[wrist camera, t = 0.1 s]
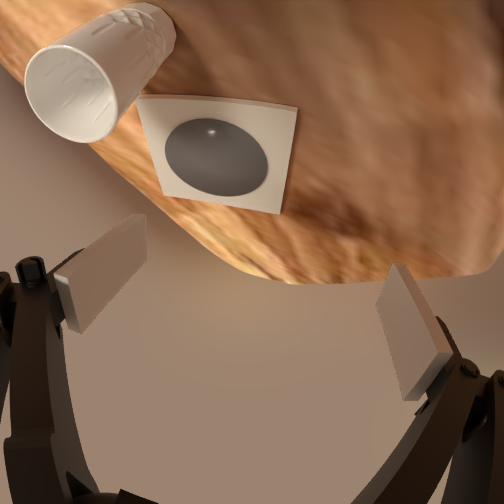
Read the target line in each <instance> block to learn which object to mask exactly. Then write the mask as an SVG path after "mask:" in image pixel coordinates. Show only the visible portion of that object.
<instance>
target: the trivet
mask: <svg viewBox="0 0 504 504" xmlns="http://www.w3.org/2000/svg"><path fill="white" fill-rule="evenodd" d="M135 101H136V105H137V108H138V112H139V115H140V119H141V123H142V126H143V130H144V133H145V136H146V140H147V143H148V147H149V150H150V153H151V156H152V160H153V163H154V166H155V169H156V172H157V176H158V179H159V182H160V185H161V188H162V191H163V194H164V195H166V196H173V197H179V198H186V199H192V200H198V201H204V202H210V203H216V204H222V205H228V206H234V207H240V208H245V209H251V210H256V211H262V212H267V213H272V214H278V215H280V210H281V204H282V199H283V193H284V187H285V182H286V176H287V170H288V165H289V159H290V153H291V147H292V141H293V135H294V129H295V123H296V117H297V111H298V107H292V106H287V105H281V104H274V103H268V102H260V101H253V100H244V99H235V98H225V97H213V96H197V95H170V94H141V95H138V96H137V98H136V99H135Z"/></svg>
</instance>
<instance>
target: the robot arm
mask: <svg viewBox="0 0 504 504" xmlns="http://www.w3.org/2000/svg"><path fill="white" fill-rule="evenodd" d="M146 244H147V243H146V215H142V214H135V213H134V214H132V215H131V216H129V217H128V218H126V219H125V220H124V221H122V222H121V223H119V224H118V225H116V226H115V227H114V228H112V229H111V230H109V231H108V232H107V233H105V234H104V235H102V236H101V237H100V238H98V239H97V240H96V241H94V242H93V243H92V244H90V245H89V246H88V247H86V248H84V249H81V250H79V251H76V252H74V253H73V254H72V255H70V256H69V257H68V259H65V260H64V261H62V263H60V264H59V265H57V266H56V267H55V268H54V269H52V270H51V271H50V272H49V273H47V274H46V270H45V266H44V261H43V259H42V258H41V257H37V256H32V257H27V258H25V259H22V260H21V261H20V262H18V263H17V265H16V266H15V268H16V272H17V275H18V279H19V282H20V283H12V281H11V278H10V275H9V273H7V272H0V422H1V415H2V411H3V406H4V401H5V396H6V392H7V388H8V384H9V380H10V418H11V437H9V438H6V439H5V441H4V447H3V448H4V457H5V465H6V471H7V477H8V483H9V488H10V493H11V497H12V502H13V504H158V503H156V502H153V501H150V500H148V499H145V498H142V497H139V496H137V495H134V494H132V493H129V492H127V491H124V490H122V489H120V491H119V494H115V493H100V492H99V489H98V487H97V485H96V483H95V481H94V479H93V477H92V475H91V474H90V472H89V470H88V467H87V464H86V461H85V458H84V454H83V451H82V447H81V443H80V439H79V436H78V431H77V428H76V423H75V418H74V413H73V408H72V403H71V398H70V392H69V386H68V379H67V373H66V364H65V356H64V345H63V333H62V327H61V324H60V323H61V322H62V321H63V320H64V319H66V322H67V325H68V329H70V330H73V331H75V332H78V333H80V334H82V333H83V332H84V331H85V330H86V329H87V327H88V326H89V325H90V324H91V323H92V322H93V320H94V319H95V318H96V317H97V315H98V314H99V313H100V312H101V311H102V310H103V309H104V307H105V306H106V305H107V304H108V303H109V302H110V301H111V300H112V298H113V297H114V296H115V295H116V294H117V293H118V292H119V291H120V289H121V288H122V287H123V286H124V285H125V284H126V283H127V282H128V281H129V279H130V278H131V277H132V276H133V275H134V274H135V273H136V272H137V271H138V270H139V269H140V268H141V267H142V265H143V264H144V263H145V262H146V261H147V245H146ZM376 307H377V310H378V313H379V316H380V319H381V323H382V326H383V329H384V332H385V336H386V339H387V342H388V346H389V349H390V353H391V356H392V360H393V363H394V367H395V370H396V374H397V378H398V382H399V386H400V390H401V395H402V399H403V401H418V400H419V399H420V398H421V396H422V395H423V394H424V393H425V392H426V394H427V397H428V399H427V400H426V401H425V403H424V404H423V405H422V406H421V407H420V408H419V409H418V411H417V412H416V413H415V415H417V416H416V417H415V419H414V421H413V422H412V424H411V425H410V427H409V428H408V430H407V432H406V433H405V435H404V436H403V438H402V439H401V441H400V442H399V444H398V445H397V447H396V448H395V449H394V451H393V452H392V454H391V455H390V456H389V458H388V459H387V460H386V462H385V463H384V464H383V466H382V467H381V468H380V470H379V471H378V472H377V473H376V475H375V476H374V477H373V478H372V480H371V481H370V482H369V483H368V485H367V486H366V487H365V488H364V489H363V490H362V491H361V493H360V494H359V495H358V496H357V497H356V498H355V499H354V501H353V502H352V503H351V504H427V503H428V501H429V499H430V498H431V496H432V494H433V492H434V491H435V489H436V487H437V485H438V483H439V481H440V480H441V478H442V476H443V474H444V472H445V470H446V468H447V466H448V464H449V462H450V459H451V457H452V455H453V457H452V462H451V466H450V471H449V475H448V479H447V483H446V487H445V491H444V495H443V498H442V501H441V504H504V371H502V370H497V371H495V373H494V374H493V375H492V376H491V378H489V377H485V376H482V375H480V371H479V369H478V367H477V366H476V365H475V364H474V363H473V362H472V361H470V360H468V359H465V358H462V356H461V354H460V352H459V350H458V348H457V346H456V344H455V342H454V340H453V339H452V336H451V334H450V333H449V330H448V328H447V327H446V325H445V323H444V322H443V321H442V320H441V319H440V318H439V317H438V316H435V315H434V314H433V312H432V310H431V308H430V306H429V304H428V303H427V301H426V299H425V297H424V295H423V294H422V292H421V290H420V288H419V287H418V285H417V283H416V281H415V280H414V278H413V276H412V275H411V273H410V271H409V270H408V268H407V267H406V265H405V264H400V263H395V262H393V263H392V266H391V269H390V271H389V274H388V276H387V279H386V282H385V284H384V287H383V289H382V291H381V294H380V296H379V299H378V301H377V303H376ZM485 421H486V422H485Z"/></svg>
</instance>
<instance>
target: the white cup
mask: <svg viewBox="0 0 504 504" xmlns="http://www.w3.org/2000/svg"><path fill="white" fill-rule="evenodd" d="M175 40H176V32H175V28H174V25H173V21H172V19H171V18H170V17H169V16H168V15H167V14H166V13H165V12H164V11H163V10H162V9H161V8H159V7H157V6H154V5H152V4H149V3H146V2H142V3H132V4H127V5H125V6H123V7H120V8H118V9H116V10H114V11H111V12H108V13H105V14H103V15H101V16H99V17H97V18H95V19H92V20H90V21H88V22H86V23H84V24H82V25H80V26H78V27H77V28H75V29H73V30H71V31H70V32H68V33H66V34H65V35H63V36H61V37H60V38H58V39H56V40H55V41H53V42H52V43H50V44H49V45H47V46H46V47H44V48H43V49H41V50H40V51H38V52H37V53H36V54H35V55H34V56H33V57H32V58H31V60H30V61H29V63H28V65H27V68H26V72H25V79H24V83H25V91H26V95H27V98H28V101H29V103H30V105H31V107H32V109H33V111H34V112H35V114H36V115H37V117H38V118H39V119H40V120H41V121H42V122H43V123H44V124H45V125H46V126H47V127H48V128H49V129H51V130H52V131H53V132H55V133H57V134H58V135H60V136H62V137H64V138H66V139H69V140H72V141H76V142H81V143H92V142H96V141H99V140H102V139H104V138H105V137H107V136H108V135H109V134H110V133H111V132H112V130H113V129H114V127H115V126H116V124H117V123H118V122H119V120H120V119H121V117H122V116H123V115H124V113H125V112H126V111H127V109H128V108H129V107H130V105H131V104H132V103H133V101H134V100H135V99H136V98H137V96H138V95H139V94H140V93H141V91H142V90H143V89H144V87H145V86H146V85H147V83H148V82H149V81H150V80H151V78H152V77H153V76H154V75H155V73H156V72H157V71H158V68H159V67H160V65H161V64H162V63H163V62H164V61H165V60H166V59H167V57H168V56H169V55H170V54H171V53H172V52H173V49H174V45H175Z"/></svg>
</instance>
